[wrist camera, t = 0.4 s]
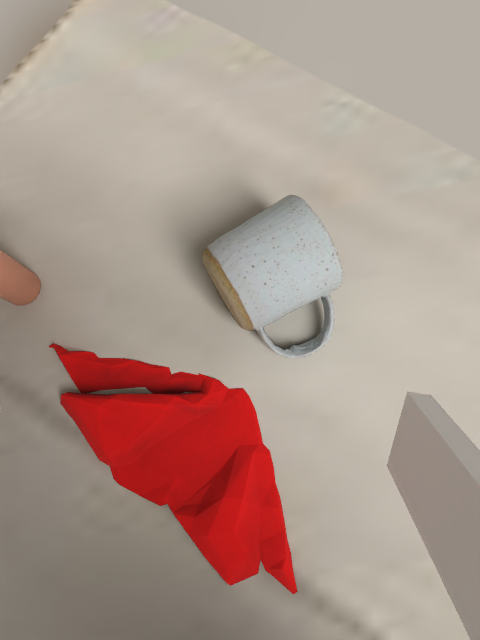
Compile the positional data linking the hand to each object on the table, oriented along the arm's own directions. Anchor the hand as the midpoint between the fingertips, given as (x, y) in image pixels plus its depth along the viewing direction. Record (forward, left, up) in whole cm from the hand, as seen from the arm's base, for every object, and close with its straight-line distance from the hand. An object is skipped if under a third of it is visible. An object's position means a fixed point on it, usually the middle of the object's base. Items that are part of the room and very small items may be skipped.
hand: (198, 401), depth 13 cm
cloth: (-3, +3, -20) cm, 20 cm away
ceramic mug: (+10, -3, -19) cm, 22 cm away
